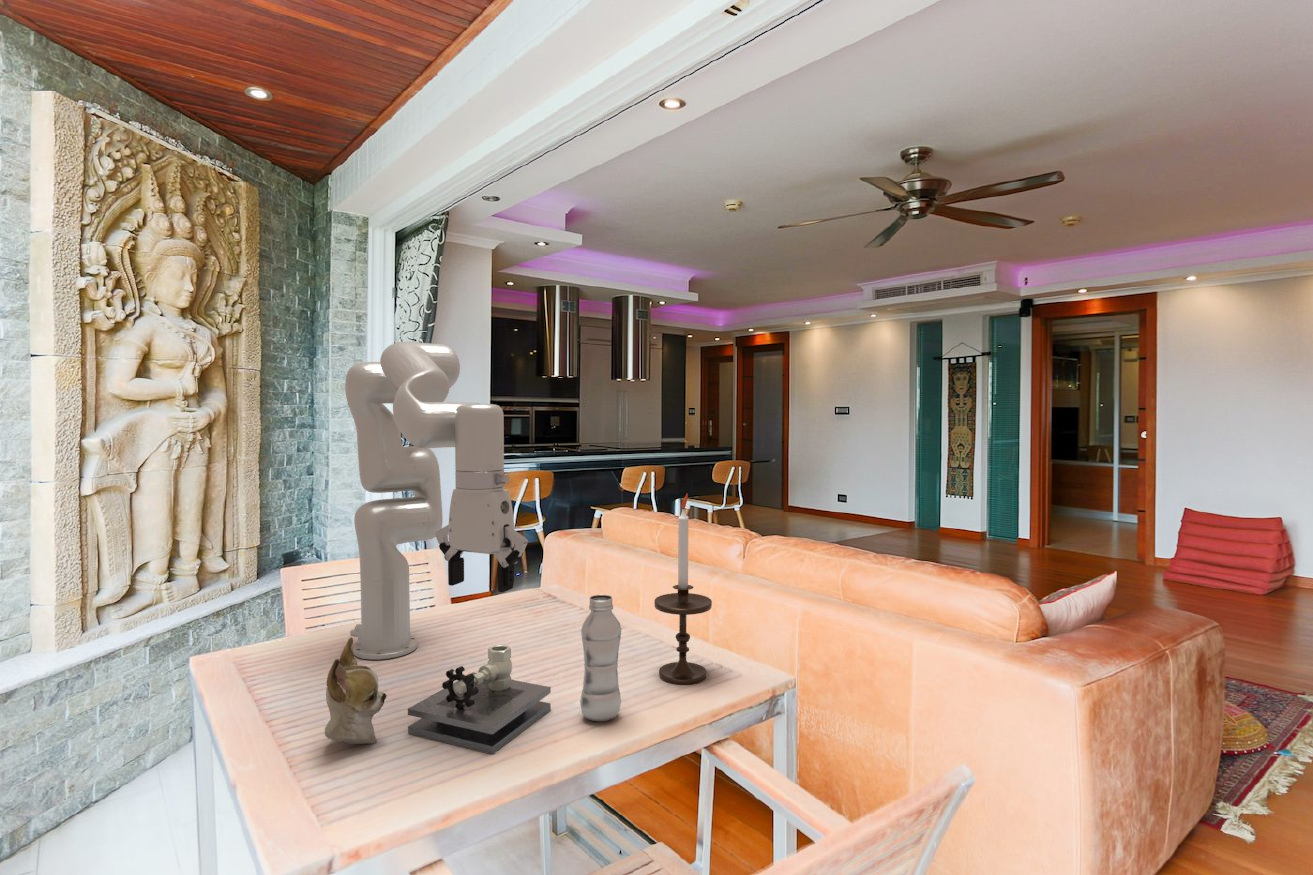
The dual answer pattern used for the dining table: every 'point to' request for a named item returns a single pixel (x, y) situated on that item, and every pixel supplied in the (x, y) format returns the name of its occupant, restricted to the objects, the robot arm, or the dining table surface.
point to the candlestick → (682, 613)
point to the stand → (480, 716)
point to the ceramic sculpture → (352, 700)
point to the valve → (481, 677)
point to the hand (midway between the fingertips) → (480, 586)
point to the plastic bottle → (600, 661)
